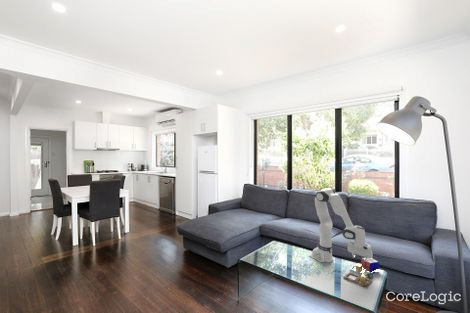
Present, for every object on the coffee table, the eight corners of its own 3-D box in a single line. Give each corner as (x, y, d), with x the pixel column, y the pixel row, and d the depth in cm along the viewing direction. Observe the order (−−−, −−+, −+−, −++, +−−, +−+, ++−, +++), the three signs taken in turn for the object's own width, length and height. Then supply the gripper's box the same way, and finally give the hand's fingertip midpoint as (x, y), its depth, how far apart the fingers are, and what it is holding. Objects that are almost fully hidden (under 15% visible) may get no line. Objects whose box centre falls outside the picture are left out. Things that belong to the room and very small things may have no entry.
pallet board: (343, 278, 194) (343, 276, 194) (349, 273, 202) (349, 271, 202) (366, 288, 181) (366, 286, 181) (372, 282, 189) (372, 280, 189)
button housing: (364, 277, 196) (364, 273, 196) (366, 275, 199) (366, 271, 199) (370, 279, 192) (371, 276, 192) (373, 277, 196) (373, 274, 196)
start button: (366, 275, 196) (366, 272, 196) (367, 273, 198) (367, 271, 198) (370, 276, 194) (370, 273, 194) (371, 275, 196) (371, 272, 196)
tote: (349, 271, 206) (349, 269, 206) (353, 267, 212) (353, 265, 212) (363, 276, 197) (363, 274, 197) (367, 272, 203) (367, 270, 203)
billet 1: (355, 271, 204) (355, 265, 204) (357, 269, 207) (357, 263, 207) (359, 273, 201) (359, 266, 201) (361, 271, 205) (362, 264, 204)
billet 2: (360, 283, 188) (360, 276, 187) (362, 280, 191) (362, 273, 191) (364, 285, 185) (364, 278, 185) (366, 282, 188) (367, 275, 188)
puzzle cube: (369, 274, 201) (370, 263, 201) (360, 268, 211) (361, 258, 210) (378, 272, 204) (379, 261, 203) (369, 267, 213) (369, 256, 213)
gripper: (346, 241, 209) (346, 256, 209) (370, 248, 194) (370, 264, 194) (349, 240, 213) (349, 254, 213) (373, 246, 198) (373, 262, 198)
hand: (359, 259), depth 204 cm, fingers open, 8 cm apart
